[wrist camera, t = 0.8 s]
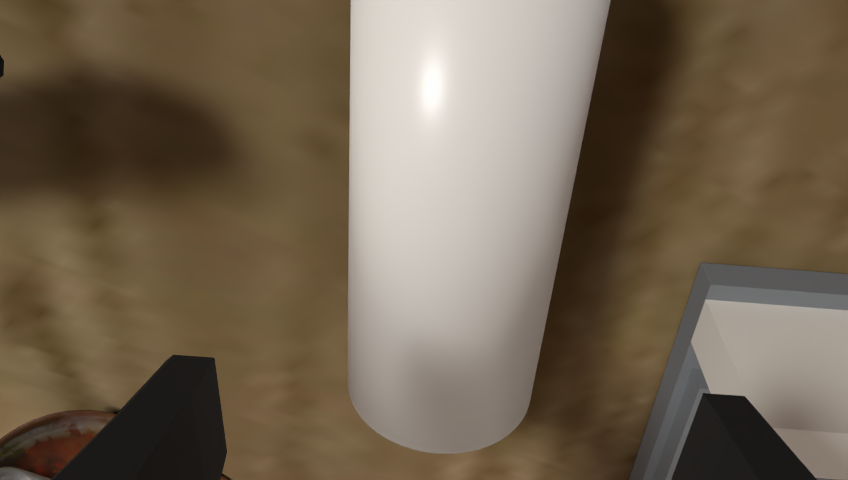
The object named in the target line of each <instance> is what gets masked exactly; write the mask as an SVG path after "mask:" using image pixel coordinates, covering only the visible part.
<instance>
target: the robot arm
mask: <svg viewBox="0 0 848 480" xmlns="http://www.w3.org/2000/svg"><path fill="white" fill-rule="evenodd" d="M226 454H227V448H226V441H225V434H224V426H223V419H222V411H221V404H220V396H219V389H218V381H217V374H216V367H215V359H214V358H210V357H196V356H182V355H173V356H171V357H170V358H169V359H168V360H166V361H165V363H164V364H163V365H162V366H161V367H160V368H159V369H158V370H157V371H156V372H155V373H154V374H153V376H152V377H151V378H150V379H149V380H148V381H147V382H146V383H145V384H144V385H143V386H142V387H141V388H140V390H139V391H138V392H137V393H136V394H135V395H134V396H133V397H132V398H131V399H130V400H129V401H128V402H127V403H126V405H125V406H124V407H123V408H122V409H121V410H120V411H119V412H118V413H117V414H116V415H115V416H114V417H113V418H112V419H111V420H110V421H109V422H108V423H107V424H106V425H105V426H104V427H103V428H102V429H101V430H100V431H99V432H98V433H97V434H96V435H95V436H94V437H93V438H92V439H91V440H90V441H89V442H88V443H87V444H86V445H85V446H84V447H83V448H82V449H81V450H80V451H79V452H78V453H77V454H76V455H75V456H74V457H73V458H72V459H71V460H70V461H69V462H68V463H67V464H66V465H65V466H64V467H63V468H62V469H61V470H60V471H59V472H58V473H57V474H56V475H55V476H54V477H53V478H52V479H51V480H220V479H221V475H222V471H223V466H224V462H225V458H226ZM671 480H817V479H816V478H815V477H814V476H813V474H812V473H811V472H810V471H809V470H808V469H807V467H806V466H805V465H804V464H803V463H802V462H801V461H800V459H799V458H798V457H797V456H796V455H795V454H794V452H793V451H792V450H791V449H790V448H789V447H788V446H787V444H786V443H785V442H784V441H783V440H782V439H781V437H780V436H779V435H778V434H777V433H776V432H775V430H774V429H773V428H772V427H771V426H770V424H769V423H768V422H767V421H766V420H765V419H764V418H763V416H762V415H761V414H760V413H759V412H758V411H757V409H756V408H755V407H754V406H753V405H752V404H751V403H750V401H749V400H748V399H747V398H746V397H745V396H737V395H723V394H709V393H703V395H702V397H701V400H700V403H699V405H698V408H697V411H696V414H695V416H694V419H693V422H692V424H691V427H690V430H689V433H688V435H687V438H686V441H685V443H684V446H683V449H682V452H681V454H680V457H679V460H678V462H677V465H676V468H675V471H674V473H673V476H672V479H671Z"/></svg>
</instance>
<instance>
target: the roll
mask: <svg viewBox="0 0 848 480" xmlns="http://www.w3.org/2000/svg"><path fill="white" fill-rule="evenodd" d="M610 1H611V0H351V40H350V150H349V260H348V369H347V385H348V393H349V396H350V399H351V402H352V404H353V406H354V408H355V410H356V411H357V413H358V414H359V416H360V417H361V418H362V419H363V420H364V421H365V423H366V424H367V425H368V426H369V427H371V428H372V429H373V430H374V431H376V432H377V433H378V434H380V435H382V436H383V437H385V438H386V439H388V440H390V441H392V442H394V443H397V444H399V445H401V446H404V447H407V448H410V449H414V450H418V451H423V452H429V453H438V454H454V453H465V452H470V451H474V450H478V449H481V448H484V447H487V446H490V445H492V444H494V443H496V442H498V441H500V440H501V439H503V438H505V437H506V436H508V435H509V434H510V433H511V432H512V431H513V430H514V429H516V427H517V426H518V425H519V424H520V423H521V421H522V420H523V418H524V416H525V415H526V413H527V410H528V407H529V404H530V399H531V394H532V389H533V384H534V379H535V374H536V369H537V364H538V359H539V354H540V349H541V344H542V339H543V335H544V330H545V325H546V320H547V315H548V310H549V305H550V300H551V295H552V290H553V285H554V280H555V275H556V270H557V265H558V260H559V255H560V250H561V245H562V240H563V235H564V230H565V225H566V220H567V215H568V210H569V205H570V200H571V195H572V190H573V185H574V180H575V175H576V170H577V165H578V161H579V156H580V151H581V146H582V141H583V136H584V131H585V126H586V121H587V116H588V111H589V106H590V101H591V96H592V91H593V86H594V81H595V76H596V71H597V66H598V61H599V56H600V51H601V46H602V41H603V36H604V31H605V26H606V21H607V16H608V11H609V6H610Z"/></svg>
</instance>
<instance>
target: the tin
mask: <svg viewBox="0 0 848 480" xmlns="http://www.w3.org/2000/svg"><path fill="white" fill-rule="evenodd" d="M115 415H116V414H112V413H107V412H102V411H94V410H76V411H63V412H58V413H54V414H50V415H46V416H43V417H40V418H37V419H34V420H32V421H30V422H27V423H25V424H23V425H21V426H19V427H17V428H16V429H14V430H13V431H11V432H9V433H8V434H6V435H5V436H4V437H2V438H1V439H0V480H51V479H52V478H53V477H54V476H55V475H56V474H57V473H58V472H59V471H60V470H61V469H62V468H63V467H64V466H65V465H66V464H67V463H68V462H69V461H70V460H71V459H72V458H73V457H74V456H75V455H76V454H77V453H78V452H79V451H80V450H81V449H82V448H83V447H84V446H85V445H86V444H87V443H88V442H89V441H90V440H91V439H92V438H93V437H94V436H95V435H96V434H97V433H98V432H99V431H100V430H101V429H102V428H103V427H104V426H105V425H106V424H107V423H108V422H109V421H110V420H111V419H112V418H113V417H114V416H115ZM220 480H229V479H227V478H225V477H224V476H222V475H221V479H220Z"/></svg>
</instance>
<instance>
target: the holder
mask: <svg viewBox="0 0 848 480" xmlns="http://www.w3.org/2000/svg"><path fill="white" fill-rule="evenodd" d="M703 393H709V394H723V395H737V396H745V397H746V398H747V399H748V400H749V401H750V403H751V404H752V405H753V406H754V407H755V408H756V409H757V411H758V412H759V413H760V414H761V415H762V416H763V418H764V419H765V420H766V421H767V422H768V423H769V424H770V426H771V427H772V428H773V429H774V430H775V432H776V433H777V434H778V435H779V436H780V437H781V439H782V440H783V441H784V442H785V443H786V444H787V446H788V447H789V448H790V449H791V450H792V451H793V452H794V454H795V455H796V456H797V457H798V458H799V459H800V461H801V462H802V463H803V464H804V465H805V466H806V467H807V469H808V470H809V471H810V472H811V473H812V474H813V476H814V477H815V478H816V479H817V480H848V274H839V273H826V272H813V271H800V270H787V269H774V268H761V267H749V266H736V265H723V264H710V263H700V266H699V269H698V273H697V276H696V279H695V282H694V285H693V288H692V291H691V294H690V297H689V300H688V303H687V306H686V309H685V312H684V315H683V318H682V321H681V324H680V327H679V330H678V333H677V336H676V339H675V342H674V345H673V348H672V351H671V354H670V357H669V360H668V363H667V366H666V369H665V372H664V375H663V378H662V381H661V384H660V387H659V390H658V393H657V396H656V399H655V402H654V405H653V408H652V411H651V414H650V417H649V420H648V423H647V426H646V429H645V432H644V435H643V438H642V441H641V444H640V447H639V450H638V453H637V456H636V459H635V462H634V465H633V468H632V471H631V474H630V477H629V480H671V479H672V476H673V473H674V471H675V468H676V465H677V462H678V460H679V457H680V454H681V452H682V449H683V446H684V443H685V441H686V438H687V435H688V433H689V430H690V427H691V424H692V422H693V419H694V416H695V414H696V411H697V408H698V405H699V403H700V400H701V397H702V395H703Z"/></svg>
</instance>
